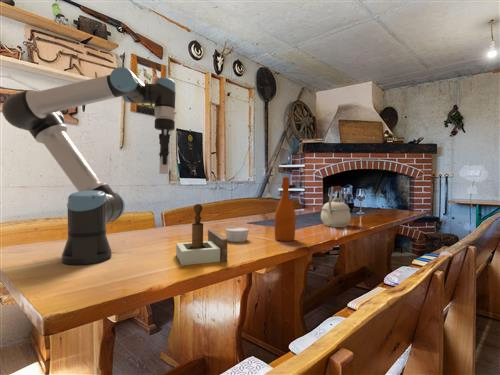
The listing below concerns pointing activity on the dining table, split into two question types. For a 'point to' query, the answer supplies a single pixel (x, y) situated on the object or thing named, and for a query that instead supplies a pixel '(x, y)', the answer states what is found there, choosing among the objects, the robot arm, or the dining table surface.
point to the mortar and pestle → (197, 230)
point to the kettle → (335, 211)
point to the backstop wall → (219, 243)
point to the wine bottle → (285, 216)
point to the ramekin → (237, 234)
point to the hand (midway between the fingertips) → (163, 173)
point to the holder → (197, 253)
